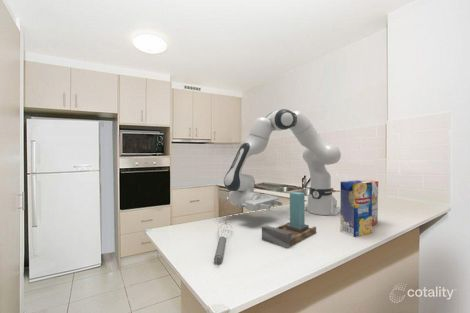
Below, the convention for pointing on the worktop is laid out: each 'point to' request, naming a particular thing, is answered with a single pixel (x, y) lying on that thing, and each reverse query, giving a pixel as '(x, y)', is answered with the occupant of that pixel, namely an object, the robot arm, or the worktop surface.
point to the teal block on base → (297, 212)
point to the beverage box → (356, 208)
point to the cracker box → (374, 201)
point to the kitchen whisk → (220, 246)
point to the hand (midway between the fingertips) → (275, 205)
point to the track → (285, 235)
